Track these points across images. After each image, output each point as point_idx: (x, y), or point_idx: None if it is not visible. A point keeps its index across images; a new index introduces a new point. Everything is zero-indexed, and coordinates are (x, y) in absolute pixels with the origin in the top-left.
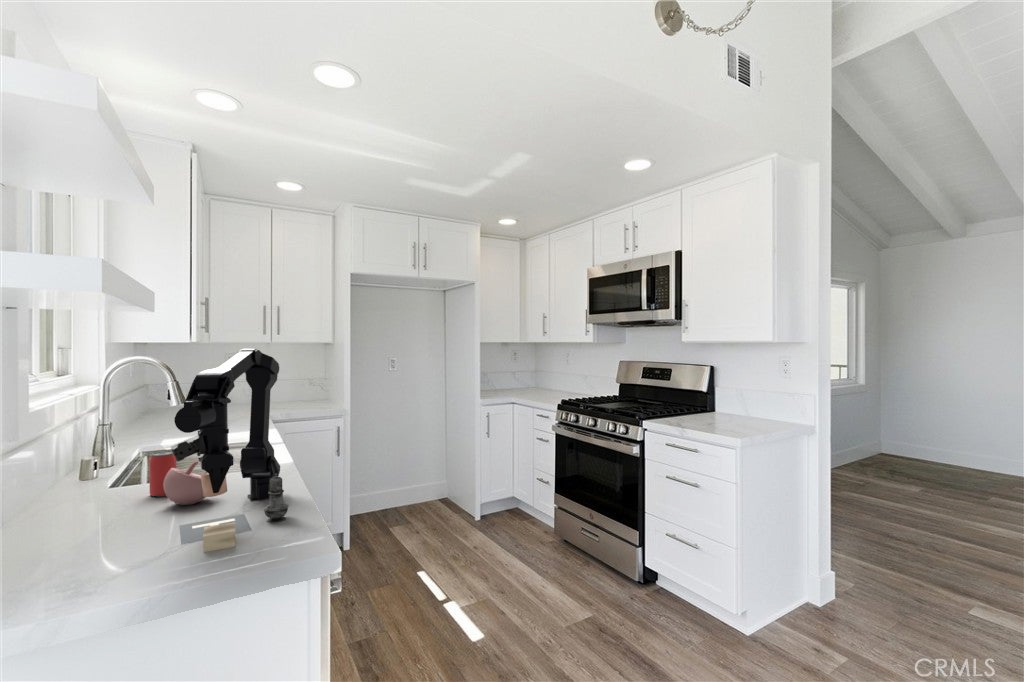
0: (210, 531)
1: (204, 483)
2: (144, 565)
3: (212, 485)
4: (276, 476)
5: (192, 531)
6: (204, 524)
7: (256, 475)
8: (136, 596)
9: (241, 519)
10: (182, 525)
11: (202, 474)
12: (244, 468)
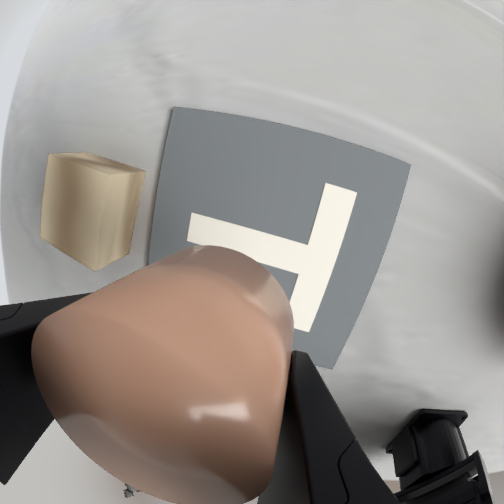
0: (65, 180)
1: (113, 282)
2: (124, 28)
3: (64, 302)
4: (127, 487)
5: (289, 171)
6: (336, 234)
7: (438, 480)
8: (31, 47)
9: None
10: (399, 172)
11: (154, 362)
12: (461, 488)
